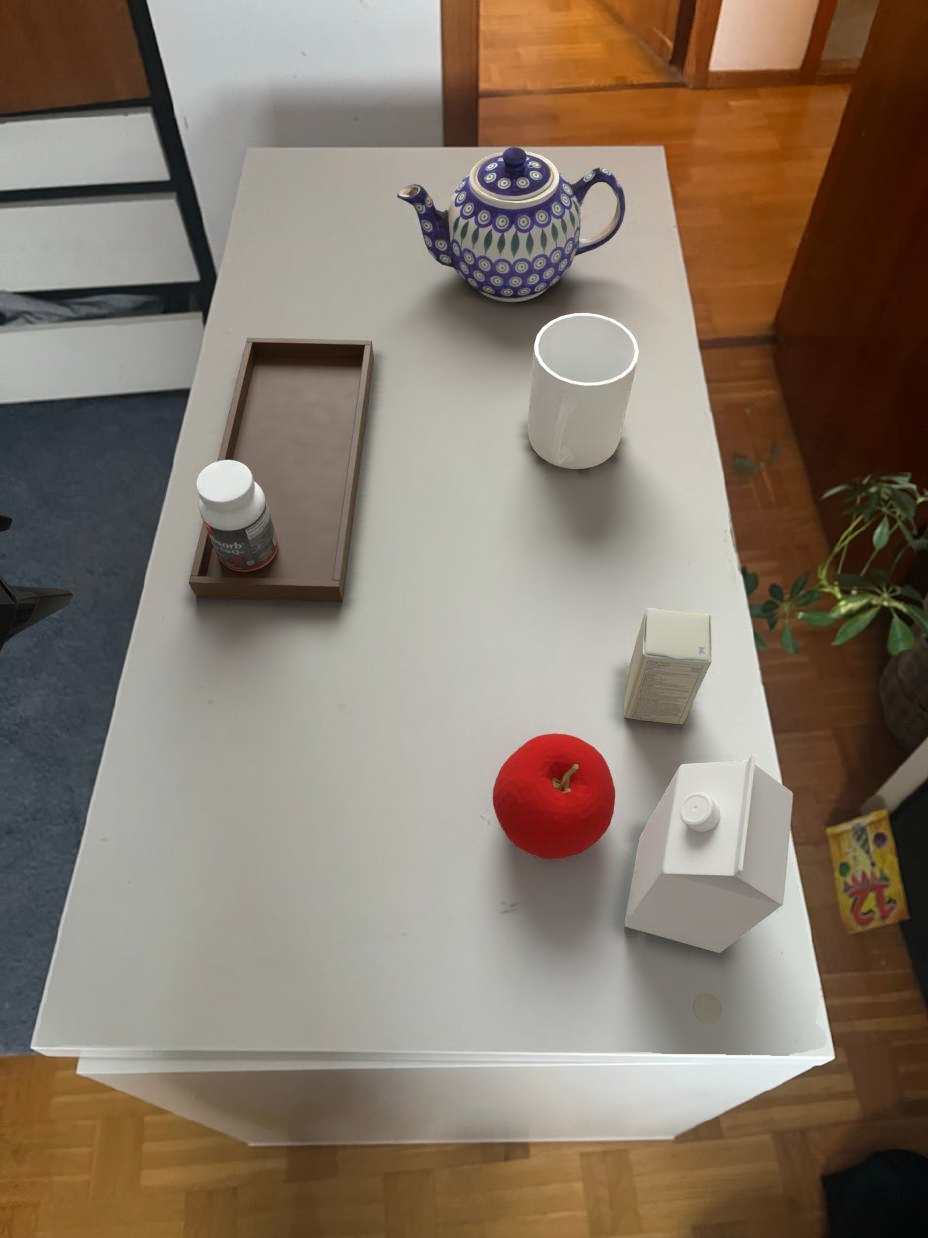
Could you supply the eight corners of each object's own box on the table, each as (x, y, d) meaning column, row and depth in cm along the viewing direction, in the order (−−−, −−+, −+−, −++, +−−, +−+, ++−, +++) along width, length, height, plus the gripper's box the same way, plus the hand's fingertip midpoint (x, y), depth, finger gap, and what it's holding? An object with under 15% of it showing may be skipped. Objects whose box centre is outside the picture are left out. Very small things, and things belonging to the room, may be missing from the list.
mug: (619, 406, 92) (638, 316, 82) (619, 496, 86) (639, 410, 76) (529, 400, 92) (537, 309, 82) (522, 489, 86) (529, 402, 76)
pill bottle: (205, 558, 81) (174, 489, 73) (242, 516, 84) (217, 444, 76) (255, 584, 80) (230, 516, 71) (291, 540, 83) (271, 470, 74)
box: (684, 681, 75) (715, 613, 66) (683, 726, 73) (715, 664, 64) (622, 673, 76) (645, 605, 66) (620, 718, 74) (642, 654, 64)
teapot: (607, 230, 107) (626, 106, 94) (624, 312, 99) (648, 190, 87) (402, 236, 107) (393, 113, 94) (404, 320, 99) (394, 198, 86)
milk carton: (731, 860, 67) (815, 769, 51) (719, 954, 64) (806, 888, 48) (639, 836, 68) (693, 738, 52) (623, 927, 65) (675, 853, 49)
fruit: (580, 893, 66) (597, 855, 58) (472, 841, 68) (473, 797, 60) (624, 788, 70) (646, 738, 62) (521, 742, 72) (529, 687, 64)
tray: (342, 602, 80) (339, 586, 77) (195, 597, 80) (188, 582, 78) (373, 358, 96) (371, 340, 94) (251, 355, 96) (246, 337, 94)
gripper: (-101, 540, 46) (148, 548, 59) (-233, 355, 53) (15, 398, 66) (-158, 699, 50) (87, 672, 63) (-273, 506, 57) (-31, 519, 70)
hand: (39, 559), depth 65 cm, fingers open, 9 cm apart
